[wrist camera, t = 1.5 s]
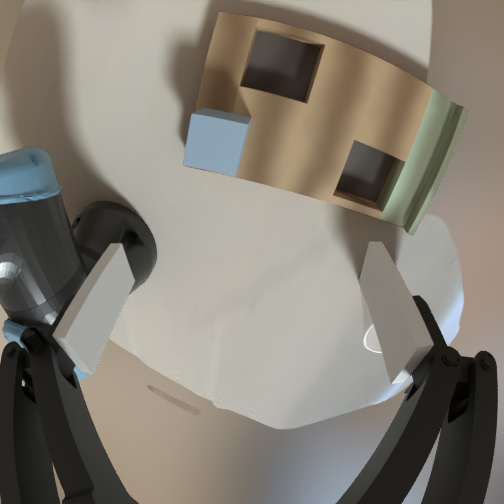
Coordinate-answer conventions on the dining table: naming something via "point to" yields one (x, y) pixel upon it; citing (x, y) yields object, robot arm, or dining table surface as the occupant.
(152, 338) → the dining table surface
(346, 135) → the board
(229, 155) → the block
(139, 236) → the robot arm
